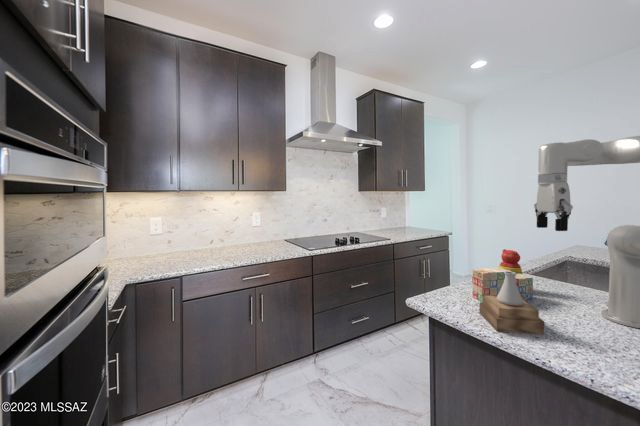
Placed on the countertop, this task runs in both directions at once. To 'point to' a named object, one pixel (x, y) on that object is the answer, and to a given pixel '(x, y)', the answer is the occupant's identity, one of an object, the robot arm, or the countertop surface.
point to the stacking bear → (510, 261)
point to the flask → (510, 291)
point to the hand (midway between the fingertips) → (551, 229)
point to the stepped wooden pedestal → (511, 316)
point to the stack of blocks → (498, 283)
